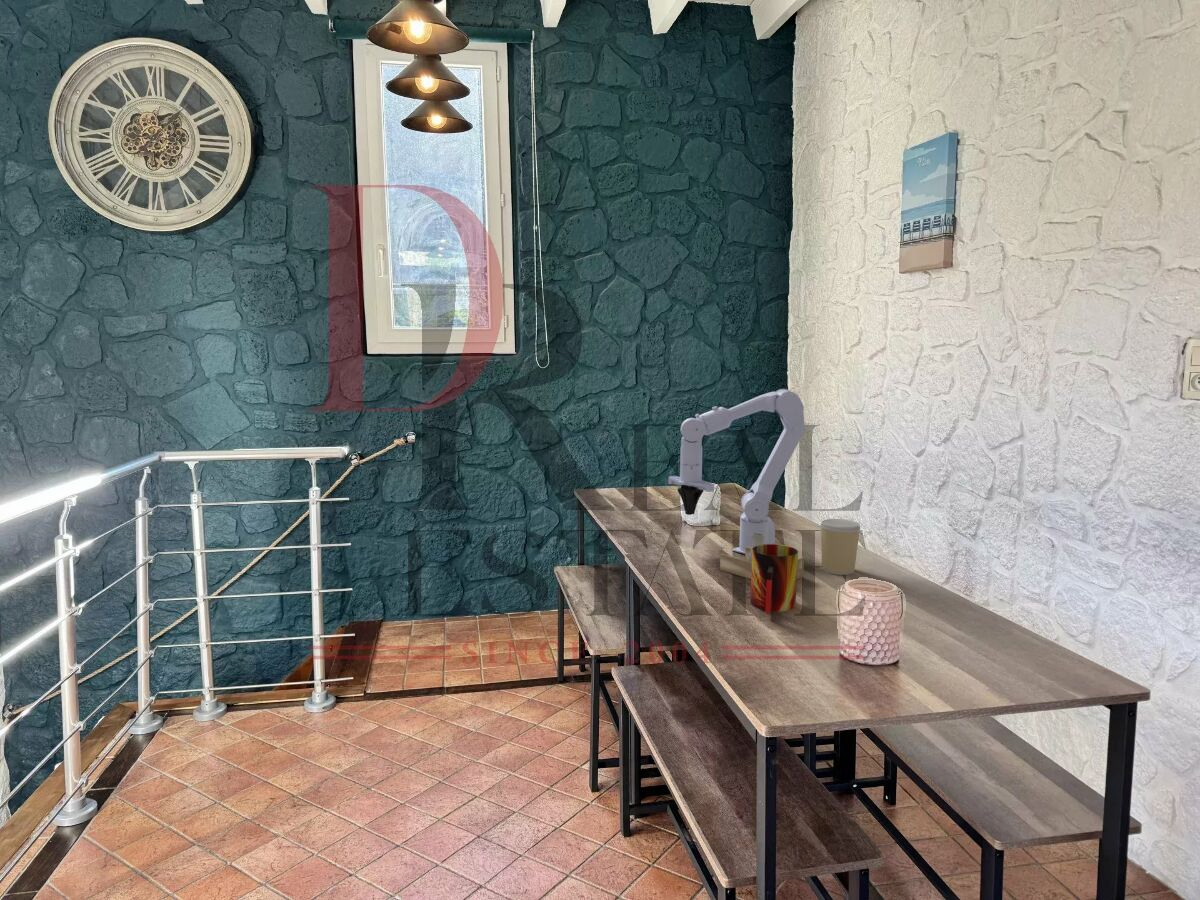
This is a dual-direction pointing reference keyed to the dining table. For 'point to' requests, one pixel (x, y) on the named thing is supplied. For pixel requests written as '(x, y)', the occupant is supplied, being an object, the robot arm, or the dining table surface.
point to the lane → (749, 565)
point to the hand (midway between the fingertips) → (689, 514)
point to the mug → (774, 577)
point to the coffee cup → (839, 545)
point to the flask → (756, 542)
